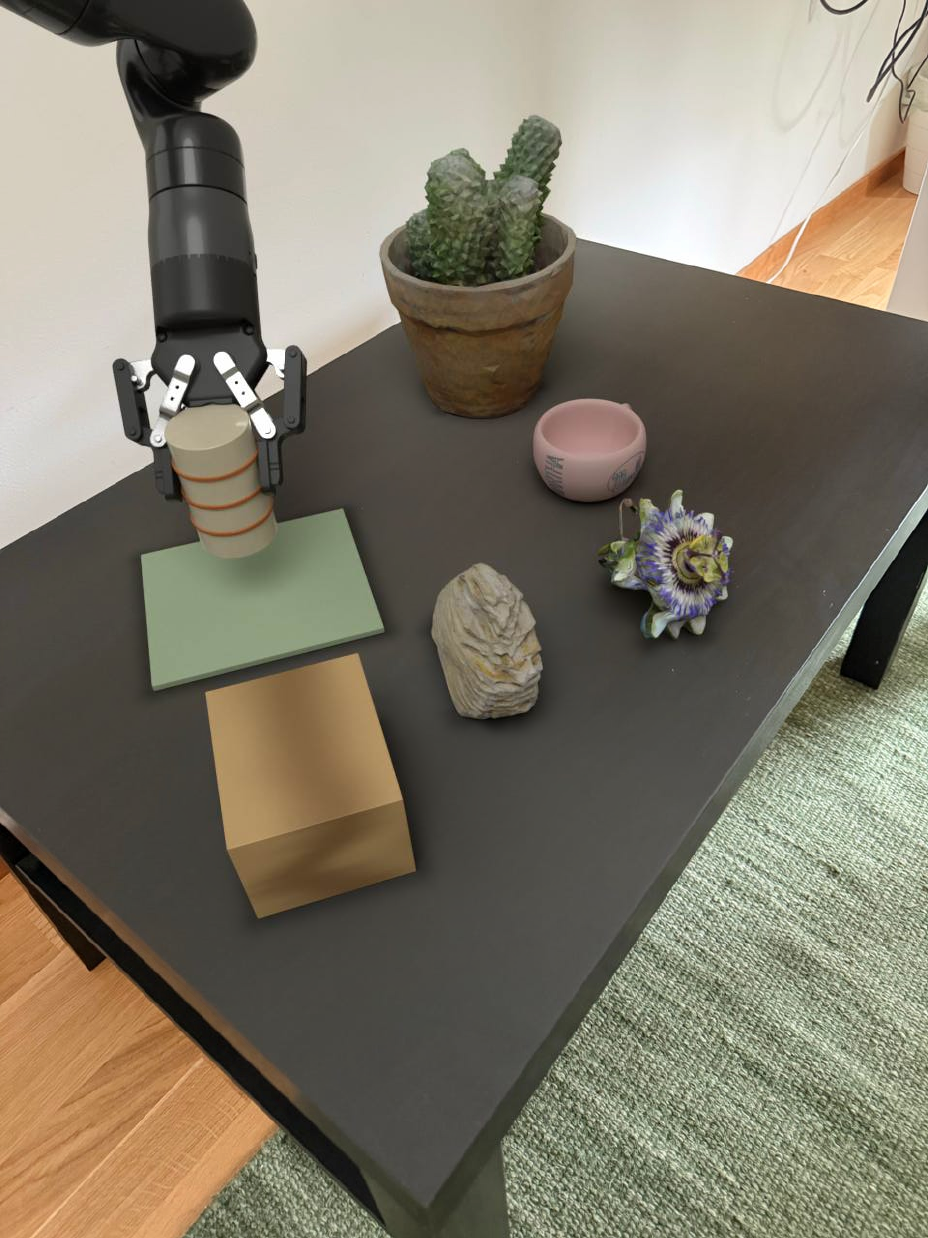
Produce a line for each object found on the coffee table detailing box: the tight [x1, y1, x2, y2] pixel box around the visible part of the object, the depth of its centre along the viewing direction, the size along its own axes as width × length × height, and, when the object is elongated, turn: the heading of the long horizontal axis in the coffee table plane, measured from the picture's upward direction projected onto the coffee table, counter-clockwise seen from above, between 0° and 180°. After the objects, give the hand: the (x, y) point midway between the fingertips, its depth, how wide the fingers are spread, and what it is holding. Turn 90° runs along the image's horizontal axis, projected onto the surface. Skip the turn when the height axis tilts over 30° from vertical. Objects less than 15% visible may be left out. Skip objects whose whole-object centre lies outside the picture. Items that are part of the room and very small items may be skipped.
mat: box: [140, 508, 386, 692], centre depth 77 cm, size 18×16×1 cm
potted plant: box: [378, 114, 578, 419], centre depth 88 cm, size 18×19×25 cm
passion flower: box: [596, 489, 736, 641], centre depth 71 cm, size 11×11×12 cm
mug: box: [532, 398, 647, 503], centre depth 84 cm, size 12×10×6 cm
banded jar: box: [164, 403, 278, 559], centre depth 69 cm, size 6×6×10 cm
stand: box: [204, 652, 417, 920], centre depth 59 cm, size 10×12×8 cm
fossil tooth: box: [431, 562, 544, 720], centre depth 66 cm, size 12×6×15 cm
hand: (221, 497), depth 68 cm, fingers closed on banded jar, 6 cm apart
